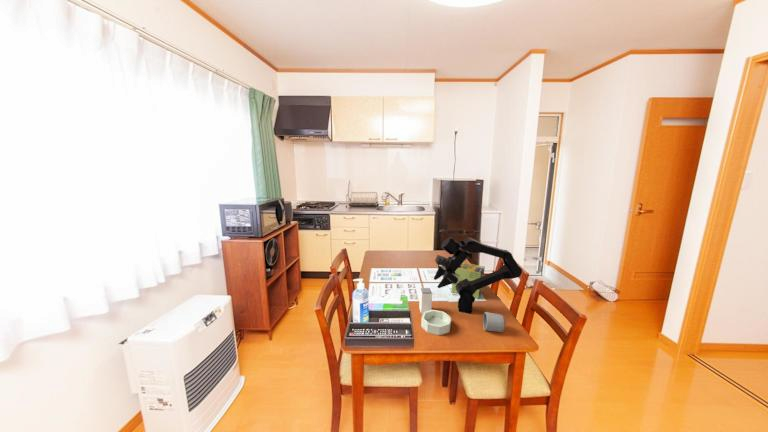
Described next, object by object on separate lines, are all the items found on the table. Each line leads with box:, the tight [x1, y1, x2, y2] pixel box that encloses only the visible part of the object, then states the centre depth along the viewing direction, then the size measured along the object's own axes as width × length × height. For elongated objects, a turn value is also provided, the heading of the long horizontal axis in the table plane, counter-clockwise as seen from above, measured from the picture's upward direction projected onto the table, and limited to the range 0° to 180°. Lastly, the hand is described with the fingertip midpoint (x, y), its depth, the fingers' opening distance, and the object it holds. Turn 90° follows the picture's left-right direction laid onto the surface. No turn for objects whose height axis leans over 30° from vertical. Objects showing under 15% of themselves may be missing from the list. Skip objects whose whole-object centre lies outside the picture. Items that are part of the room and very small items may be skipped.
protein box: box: [451, 261, 485, 300], centre depth 151 cm, size 10×15×16 cm
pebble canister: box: [418, 287, 433, 314], centre depth 131 cm, size 5×5×11 cm
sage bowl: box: [420, 309, 452, 336], centre depth 119 cm, size 13×13×4 cm
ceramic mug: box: [482, 311, 506, 333], centre depth 118 cm, size 11×8×8 cm
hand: (436, 283), depth 131 cm, fingers open, 9 cm apart
